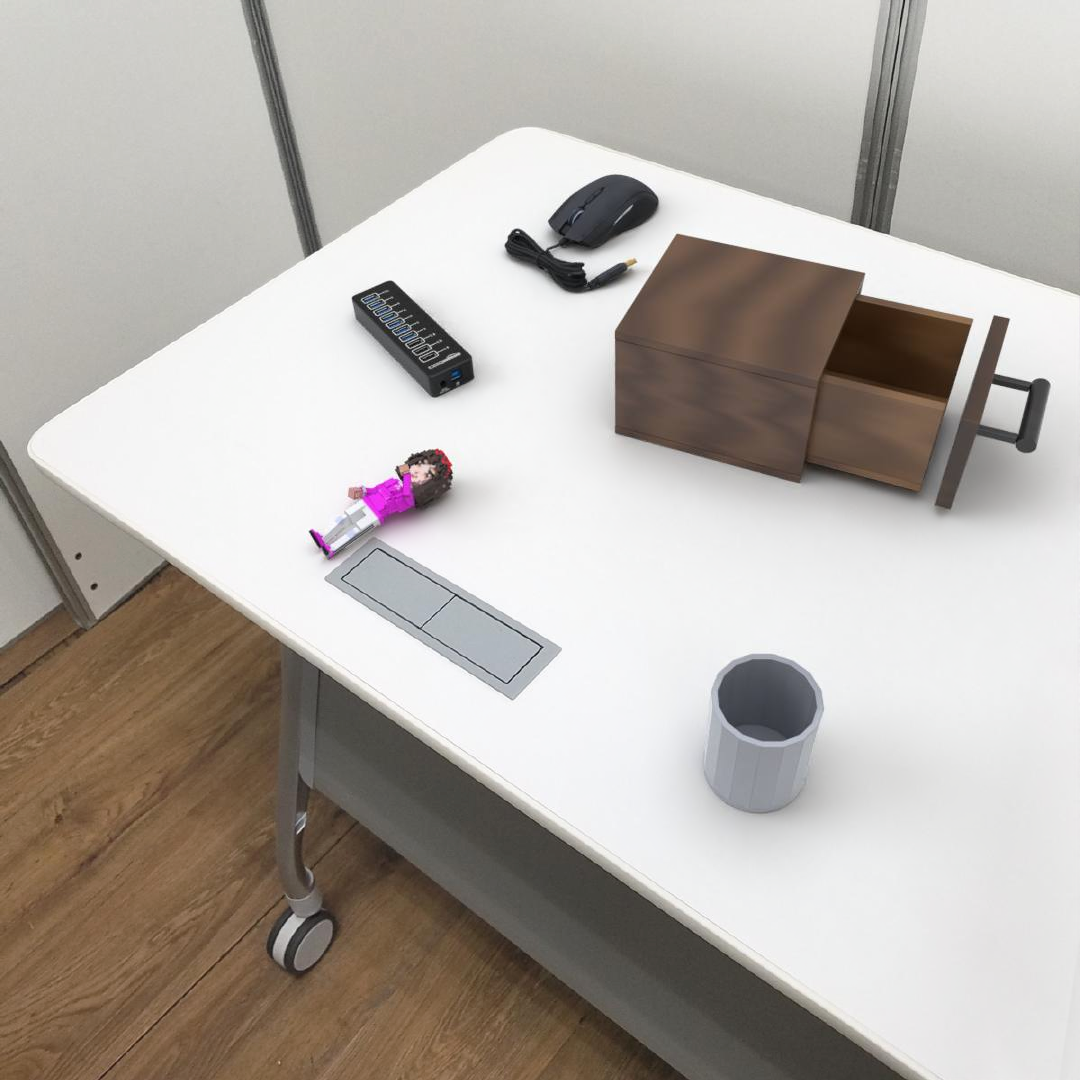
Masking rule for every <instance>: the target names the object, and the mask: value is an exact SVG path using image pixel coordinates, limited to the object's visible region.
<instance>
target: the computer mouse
mask: <svg viewBox="0 0 1080 1080" xmlns="http://www.w3.org/2000/svg"><path fill="white" fill-rule="evenodd" d="M659 205H660V201H659V197H658V195H657V194H656V193H655V191H653V190H652V189H651V188H650V187H649V186H648V185H647V184H645V183H644V182H642V181H640V180H639V179H636V178H635V177H632V176H628V175H625V174H619V173H618V174H617V173H616V174H615V173H613V174H608V175H603V176H601V177H599V178H597V179H594V180H593V181H591V182H589V183H587V184H586V185H584V186H582V187H581V188H579V189H577V190H576V191H575V192H574V193H572V194H571V195H570V196H568V198H566V199H565V200H564V201H563V203H561V205H560V206H559V207H558V208H557V209H556V210H555V212H554V213H553V214H552V215H551V216H550V217H549V219H548V220H547V223H548V225H549V227H550V228H551V229H552V230H553V231H554V232H555V233H556V234H558V235H560V236H562V238H561V239H559V240H558V243H556V244H554V245H551V246H548V247H547V248H546V249H543V248H542V247H541V245H539V243H538V242H536V240H535V239H533V238H532V237H531V236H530V235H529V234H528V233H526V231H524V230H522V229H521V228H518V227H517V228H514V229H512V230H511V232H510V233H509V234H508V235H507V236H506V237H507V240H506V242H505V243H504V248H505V250H506V252H507V254H508V255H510V256H511V257H513V258H516V259H520V260H525V261H526V262H527V261H528V262H532V263H535V264H536V266H537V267H538V269H539V270H545V271H546V272H547V273H548V274H549V277H551V278H552V280H553V281H554V282H555V283H556V285H558V286H559V287H561V288H563V289H564V290H565V289H566V290H568V291H573V292H574V291H575V292H581V291H586V290H588V289H589V290H591V291H592V290H594V289H596V288H597V287H599V286H602V285H604V284H605V283H608V282H610V281H611V280H613V279H614V278H616V277H618V276H620V275H622V274H623V273H625V272H627V271H628V269H629V268H630V267H632V266H634V265H635V264H637V263H638V261H637V259H636V258H635V257H634V258H631V259H628V260H627V261H625V262H619V263H616V264H615V265H613V266H612V267H609V268H608V269H606V270H604V271H603V272H600V274H598V275H596V276H594V278H592V279H591V280H590V281H588V279H587V277H586V276H587V273H586V270H585V269H583V268H584V267H585V265H586V264H585V262H582V261H574V262H572V261H567V260H562V259H559V258H557V257H555V256H554V255H553V254H552V253H551V250H553V249H556V248H559V247H564V246H565V245H566V244H568V243H570V242H573V243H578V244H580V245H584V246H587V247H591V248H597V247H599V246H600V245H602V244H603V243H605V242H606V241H607V240H608V239H610V238H613V236H615V235H617V234H619V233H622V232H623V231H626V230H629V229H631V228H634V227H636V226H638V225H640V224H641V223H643V222H645V221H646V220H648V219H649V218H650V217H651V216H652V215H653V214H654V213H655V212H656V210H657V208H658V206H659Z"/></svg>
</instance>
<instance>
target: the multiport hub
mask: <svg viewBox="0 0 1080 1080" xmlns="http://www.w3.org/2000/svg"><path fill="white" fill-rule="evenodd" d="M351 303H352V307H353V308H352V309H353V312H354V316H355V319H356V321H358V322H359V324H361V326H362V327H363V328H364V329H365V330H366V331H367V332H368V333H369V334H370V335H371V336H372V337H373V338H374V339H375V340H376V341H377V342H378V344H380V345H381V346H382V348H384V350H386V352H387V353H388V354H389V355H390V356H392V358H393V359H394V360H395V361H396V362H397V363H398V364H399V365H400V366H401V367H402V368H403V369H404V370H405V371H406V372H407V373H408V374H409V375H410V376H411V377H412V378H413V379H414V380H415V382H417V384H418V385H420V386H421V387H422V388H423V390H424V391H426V393H427V394H428V395H429V396H430V397H432V398H437V397H440V396H442V395H445V394H446V393H448V392H450V391H452V390H454V389H456V388H458V387H461V386H462V385H464V384H467V383H468V382H471V381H472V380H474V379H475V371H474V364H473V362H474V361H473V356H472V354H470V353H469V352H468V351H467V350H466V349H465V348H464V347H463V346H462V345H461V344H460V343H459V342H458V341H457V340H456V339H455V338H454V337H452V335H450V334H449V333H448V332H447V330H445V328H443V327H442V326H441V325H440V324H439V323H438V322H437V321H436V320H435V319H433V318H432V316H430V314H428V313H427V312H426V311H425V310H424V309H423V308H422V307H421V306H420V305H419V304H418V303H417V302H416V301H415V300H414V299H413V298H412V297H410V295H408V294H407V293H406V292H405V291H404V290H403V288H401V287H400V286H399V285H398V284H397V283H396V282H395V281H394V280H385V281H384V282H381V283H379V284H377V285H374V286H372V287H369V288H368V289H365V290H363V291H360V292H358V293H356V294H354V295H352V296H351Z"/></svg>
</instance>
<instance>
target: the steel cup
mask: <svg viewBox="0 0 1080 1080" xmlns="http://www.w3.org/2000/svg"><path fill="white" fill-rule="evenodd" d="M824 711H825V705H824V698H823V692H822V689H821V687H820V686H819V683H818V682H817V681H816V680H815V678H814V676H813V675H812V673H811V672H810V671H808V670H807V669H805V667H803V666H802V665H800V664H799V663H797V662H796V661H795V660H793V659H790V658H787V657H783V656H781V655H778V654H775V653H749V654H746V655H744V656H740V657H738V658H736V659H733V660H731V661H730V662H729V663H728V664H727V665H725V666H724V667H723V668H722V669H721V670H720V671H719V672H718V673H717V674H716V677H715V680H714V682H713V684H712V687H711V689H710V696H709V705H708V711H707V712H708V713H707V721H706V729H705V730H706V731H705V738H704V739H705V740H704V746H703V771H704V772H703V773H704V776H705V779H706V781H707V783H708V785H709V787H710V788H711V790H712V791H713V792H714V793H715V795H716V796H718V798H720V799H721V800H722V801H724V802H725V803H726V804H727V805H729V806H731V807H733V808H735V809H737V810H741V811H744V812H747V813H754V814H755V813H757V814H761V813H770V812H774V811H777V810H778V811H779V810H780V809H783V808H784V807H786V806H788V805H789V804H791V803H792V802H793V801H794V800H795V799H796V798H797V797H798V795H799V794H800V792H801V791H802V789H803V787H804V784H805V780H806V777H807V775H808V771H809V767H810V763H811V761H812V756H813V752H814V749H815V745H816V741H817V737H818V734H819V730H820V726H821V723H822V719H823V715H824Z"/></svg>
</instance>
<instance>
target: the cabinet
mask: <svg viewBox="0 0 1080 1080" xmlns="http://www.w3.org/2000/svg"><path fill="white" fill-rule="evenodd" d="M865 277H866V272H863V271H858V270H855V269H854V270H853V269H848V268H843V267H840V266H834V265H829V264H824V263H821V262H816V261H810V260H806V259H801V258H796V257H791V256H786V255H782V254H777V253H773V252H768V251H763V250H759V249H758V250H757V249H753V248H748V247H744V246H739V245H734V244H730V243H725V242H720V241H715V240H710V239H707V238H706V239H705V238H700V237H696V236H691V235H686V234H682V233H676V234H675V235H674V237H673V239H672V240H671V242H670V243H669V245H668V247H667V248H666V249H665V251H664V252H663V254H662V255H661V258H660V259H659V260H658V262H657V264H656V265H655V267H654V269H653V270H652V271H651V273H650V274H649V276H648V278H647V279H646V280H645V282H644V284H643V286H642V287H641V289H640V290H639V292H638V294H637V295H636V296H635V298H634V300H633V301H632V303H631V304H630V306H629V308H627V311H626V312H625V314H624V316H623V317H622V319H621V320H620V322H619V323H618V325H617V327H616V328H615V330H614V434H618V435H621V436H626V437H629V438H633V439H637V440H640V441H642V442H648V443H651V444H655V445H658V446H662V447H666V448H669V449H673V450H676V451H680V452H683V453H687V454H692V455H695V456H698V457H702V458H705V459H709V460H713V461H717V462H720V463H724V464H728V465H732V466H735V467H739V468H743V469H746V470H749V471H753V472H757V473H761V474H764V475H768V476H772V477H775V478H779V479H781V480H786V481H790V482H794V483H798V484H800V483H801V481H802V479H803V477H804V474H805V472H806V469H807V467H808V465H809V462H807V461H805V460H806V455H807V449H808V444H809V439H810V433H811V428H812V422H813V417H814V411H815V406H816V401H817V395H818V390H819V384H820V381H821V378H822V376H823V374H824V372H825V369H826V367H827V365H828V362H829V360H830V358H831V355H832V353H833V351H834V348H835V346H836V344H837V342H838V339H839V337H840V335H841V332H842V330H843V328H844V325H845V323H846V321H847V319H848V316H849V314H850V312H851V309H852V307H853V305H854V302H855V300H856V298H857V295H858V294H861V295H862V292H863V286H864V282H865Z"/></svg>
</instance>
